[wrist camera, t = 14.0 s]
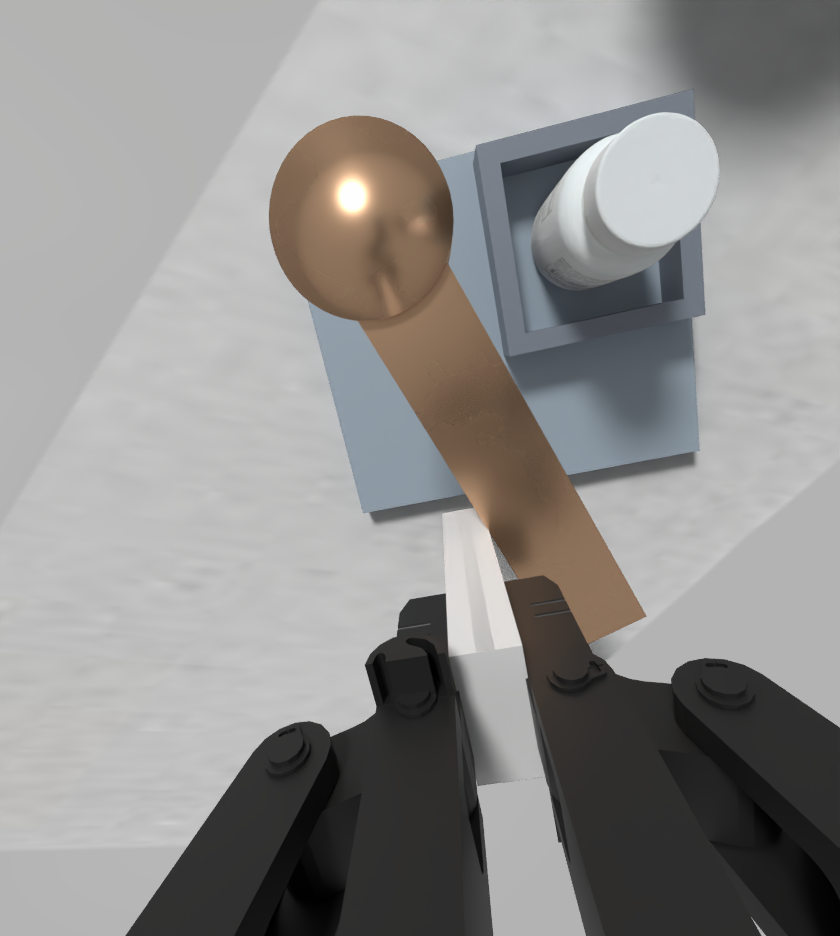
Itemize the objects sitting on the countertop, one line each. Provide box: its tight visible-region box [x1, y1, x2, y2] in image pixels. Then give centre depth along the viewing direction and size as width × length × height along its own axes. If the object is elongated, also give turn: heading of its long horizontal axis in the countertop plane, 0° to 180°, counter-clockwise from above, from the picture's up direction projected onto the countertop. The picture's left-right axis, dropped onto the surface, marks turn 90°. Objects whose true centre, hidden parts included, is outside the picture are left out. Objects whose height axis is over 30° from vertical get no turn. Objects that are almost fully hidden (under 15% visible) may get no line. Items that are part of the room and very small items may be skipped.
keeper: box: [269, 116, 646, 644], centre depth 12 cm, size 14×4×2 cm, turn 32°
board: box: [308, 89, 705, 513], centre depth 18 cm, size 17×15×10 cm
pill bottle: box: [531, 112, 720, 291], centre depth 17 cm, size 4×4×8 cm
